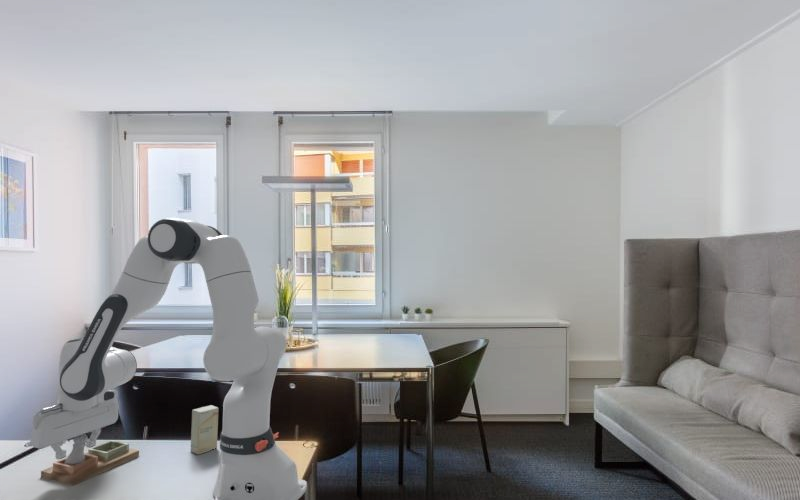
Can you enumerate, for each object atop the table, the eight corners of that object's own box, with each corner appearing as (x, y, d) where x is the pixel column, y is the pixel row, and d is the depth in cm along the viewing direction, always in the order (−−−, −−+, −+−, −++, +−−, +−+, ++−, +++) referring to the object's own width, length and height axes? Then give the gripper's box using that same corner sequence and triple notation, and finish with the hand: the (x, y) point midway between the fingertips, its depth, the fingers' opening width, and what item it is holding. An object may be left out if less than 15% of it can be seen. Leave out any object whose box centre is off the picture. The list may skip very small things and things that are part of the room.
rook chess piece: (88, 462, 115) (96, 435, 114) (73, 472, 110) (81, 443, 110) (74, 456, 115) (82, 429, 115) (59, 465, 111) (66, 437, 110)
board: (138, 455, 123) (139, 443, 123) (73, 485, 106) (73, 471, 106) (108, 449, 127) (109, 437, 127) (40, 477, 110) (41, 463, 110)
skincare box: (197, 455, 124) (198, 412, 125) (189, 451, 127) (191, 409, 127) (218, 448, 129) (219, 407, 130) (210, 444, 132) (211, 404, 132)
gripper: (42, 412, 102) (40, 471, 102) (123, 390, 122) (121, 439, 121) (25, 409, 105) (22, 467, 104) (107, 387, 124) (105, 436, 123)
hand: (76, 452), depth 113 cm, fingers open, 6 cm apart
